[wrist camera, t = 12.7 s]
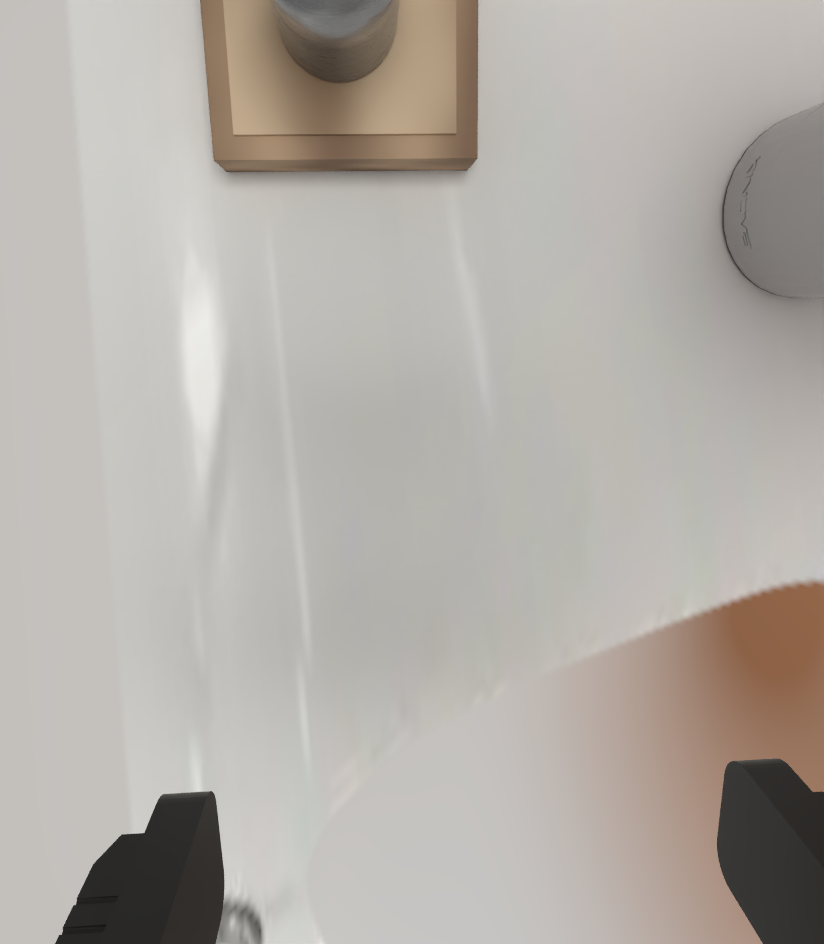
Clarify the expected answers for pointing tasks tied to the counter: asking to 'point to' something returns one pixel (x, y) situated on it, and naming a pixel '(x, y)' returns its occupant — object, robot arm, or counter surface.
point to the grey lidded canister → (337, 35)
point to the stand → (343, 95)
